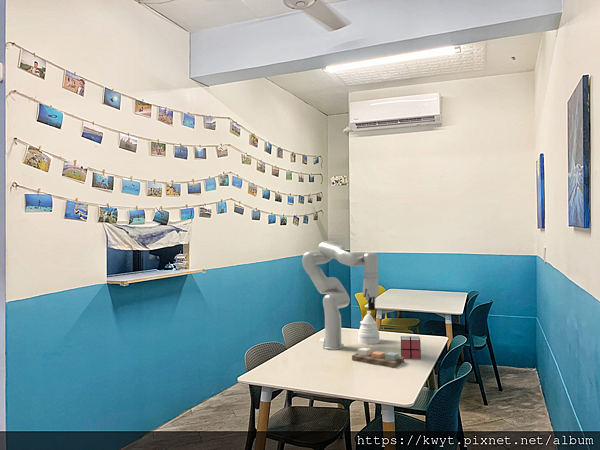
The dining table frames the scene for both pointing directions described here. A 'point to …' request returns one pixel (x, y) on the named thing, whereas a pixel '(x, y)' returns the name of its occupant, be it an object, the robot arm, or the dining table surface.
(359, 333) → the honey pot
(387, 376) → the dining table surface
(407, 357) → the puzzle cube
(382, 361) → the key panel
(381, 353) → the button terracotta
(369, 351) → the button cream
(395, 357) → the button sage
